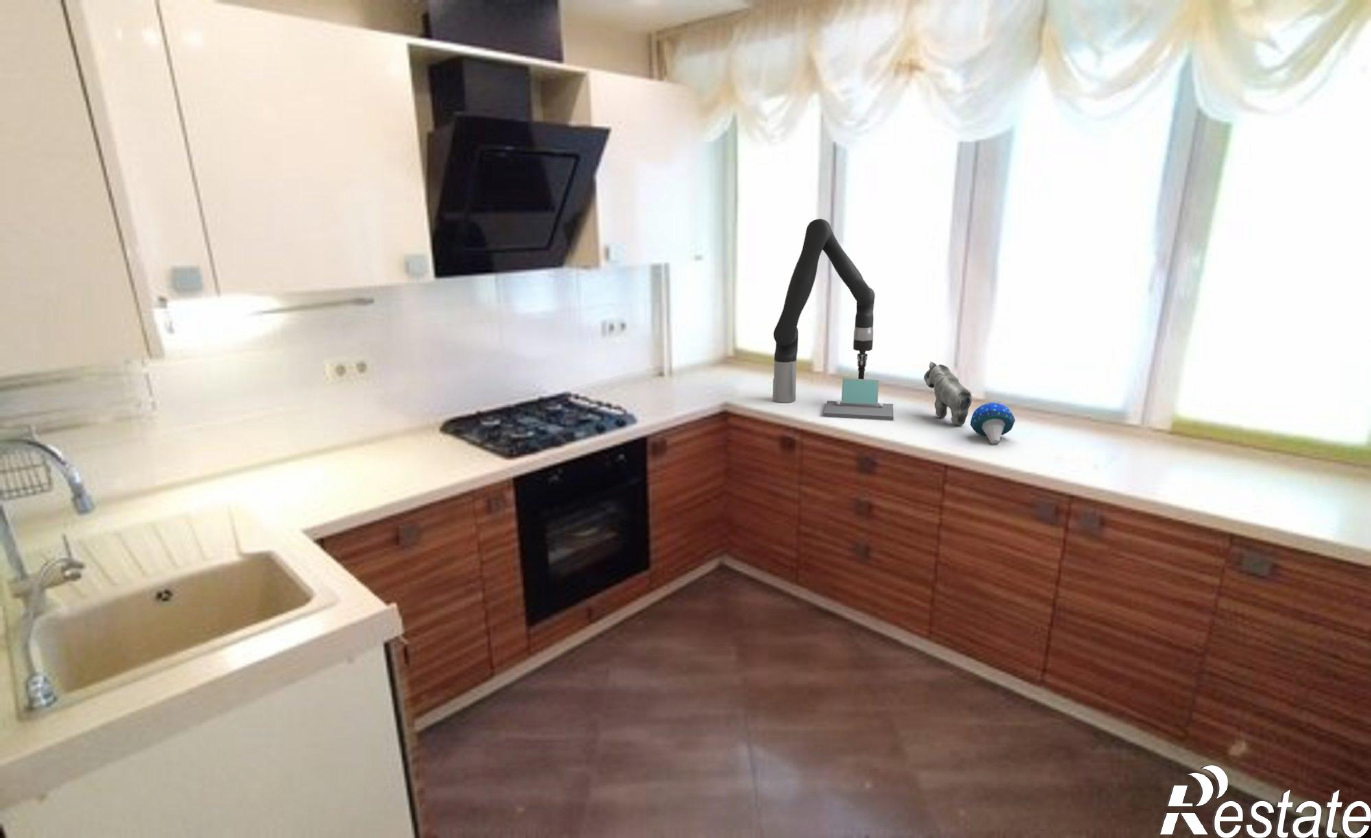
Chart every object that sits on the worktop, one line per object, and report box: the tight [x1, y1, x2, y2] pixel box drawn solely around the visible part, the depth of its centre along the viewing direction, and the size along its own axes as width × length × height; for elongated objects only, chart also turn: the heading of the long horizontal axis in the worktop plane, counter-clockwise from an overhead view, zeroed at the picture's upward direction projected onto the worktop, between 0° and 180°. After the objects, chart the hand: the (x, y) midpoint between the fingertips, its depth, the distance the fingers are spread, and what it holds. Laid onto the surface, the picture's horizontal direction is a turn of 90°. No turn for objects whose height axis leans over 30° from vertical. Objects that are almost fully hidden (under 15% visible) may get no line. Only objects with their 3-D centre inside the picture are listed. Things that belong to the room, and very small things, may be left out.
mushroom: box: [969, 402, 1016, 445], centre depth 227 cm, size 14×14×15 cm
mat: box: [823, 400, 895, 421], centre depth 262 cm, size 26×18×3 cm
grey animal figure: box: [923, 361, 973, 427], centre depth 249 cm, size 25×9×20 cm, turn 15°
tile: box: [840, 378, 880, 405], centre depth 265 cm, size 14×10×2 cm
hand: (861, 380), depth 271 cm, fingers closed
